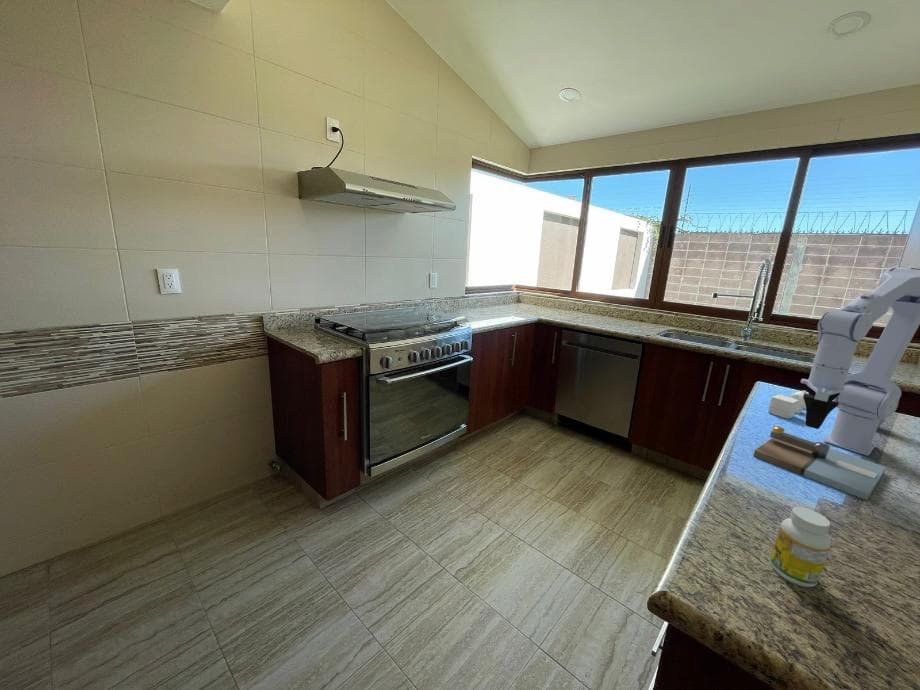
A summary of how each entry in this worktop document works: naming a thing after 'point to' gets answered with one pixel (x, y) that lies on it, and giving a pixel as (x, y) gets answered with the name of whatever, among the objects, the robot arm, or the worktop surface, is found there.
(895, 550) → the worktop surface
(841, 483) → the door leaf
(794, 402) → the container set
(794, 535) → the supplement bottle
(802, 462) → the jamb board
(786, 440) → the lock bar
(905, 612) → the worktop surface
